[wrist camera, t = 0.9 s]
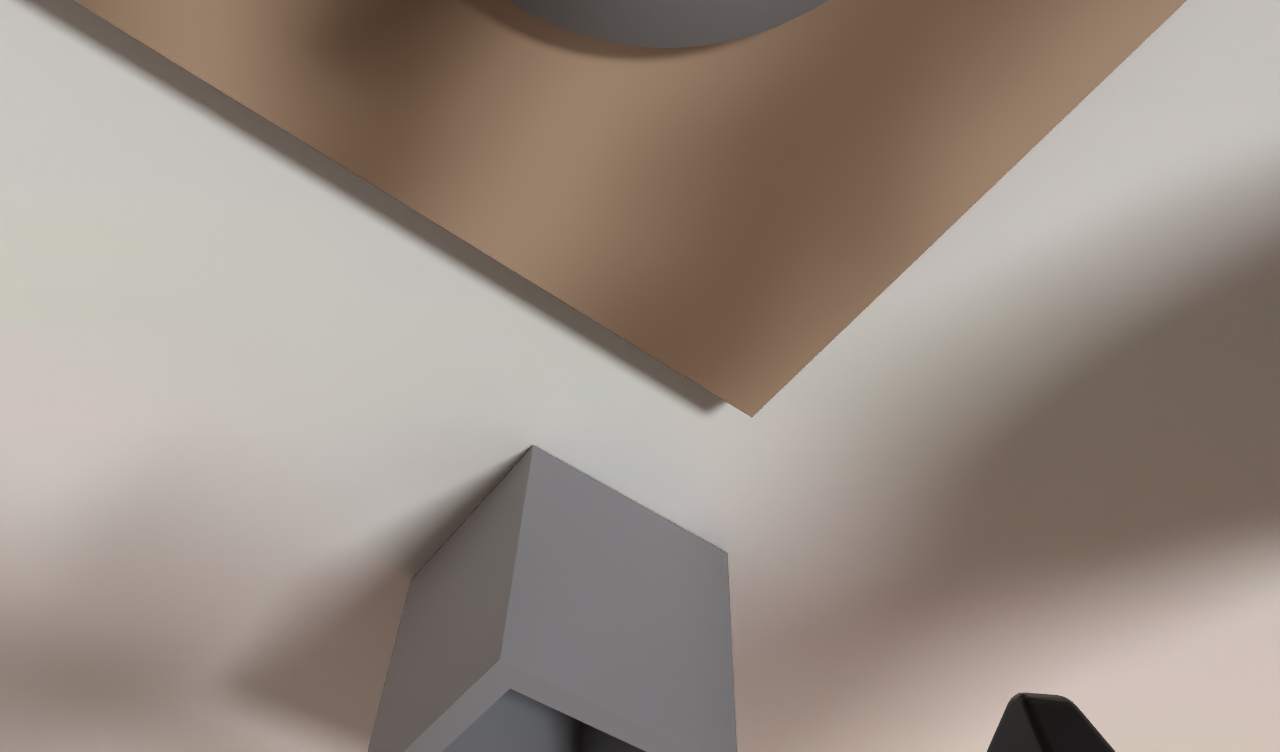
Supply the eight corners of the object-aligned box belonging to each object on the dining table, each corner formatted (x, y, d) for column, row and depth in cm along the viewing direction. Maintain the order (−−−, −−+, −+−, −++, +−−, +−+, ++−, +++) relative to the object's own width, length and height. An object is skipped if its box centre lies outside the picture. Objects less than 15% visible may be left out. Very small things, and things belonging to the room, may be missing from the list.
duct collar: (727, 553, 27) (737, 772, 23) (594, 669, 30) (579, 886, 25) (533, 444, 25) (500, 659, 21) (410, 580, 28) (356, 796, 23)
